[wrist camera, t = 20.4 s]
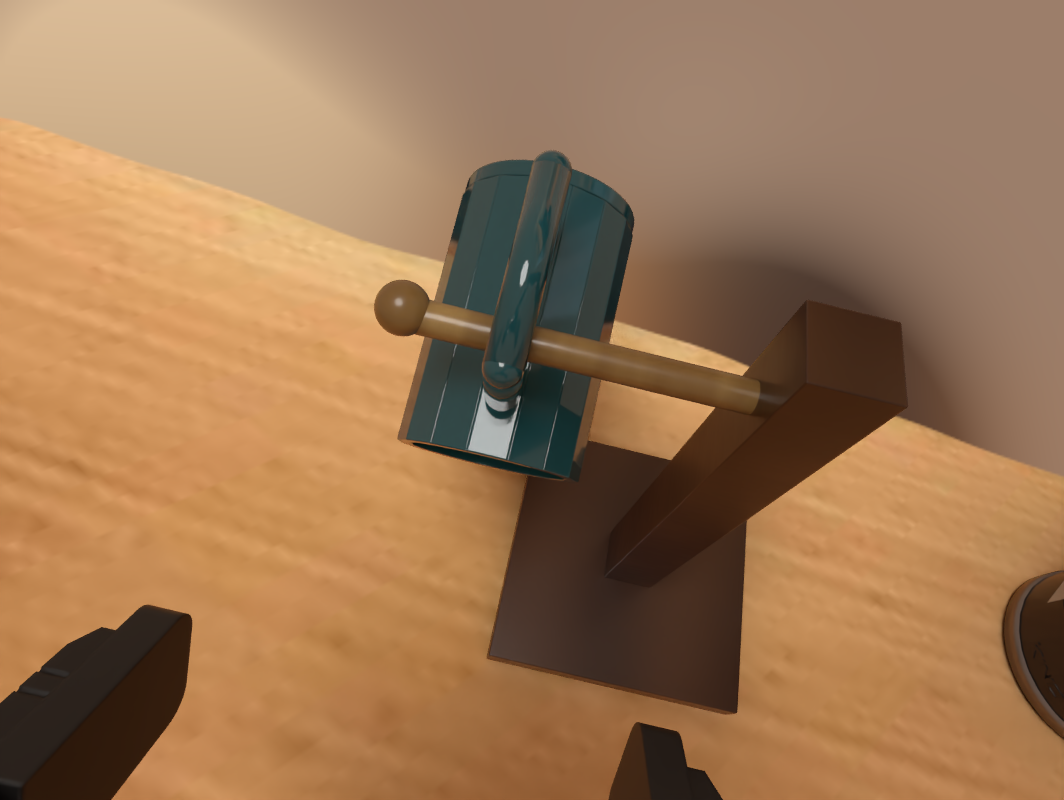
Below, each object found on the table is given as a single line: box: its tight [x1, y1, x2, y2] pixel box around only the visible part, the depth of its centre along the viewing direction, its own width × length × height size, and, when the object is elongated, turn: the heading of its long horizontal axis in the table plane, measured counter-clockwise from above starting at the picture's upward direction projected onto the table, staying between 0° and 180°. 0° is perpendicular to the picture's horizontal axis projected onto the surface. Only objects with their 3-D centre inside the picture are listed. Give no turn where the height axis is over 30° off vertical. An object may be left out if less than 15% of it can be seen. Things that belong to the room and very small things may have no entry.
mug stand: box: [374, 280, 908, 714], centre depth 25 cm, size 18×12×22 cm
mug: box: [397, 150, 634, 483], centre depth 22 cm, size 11×6×10 cm
